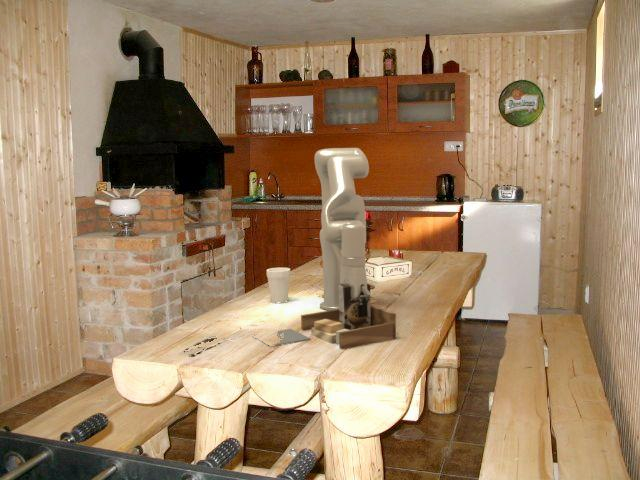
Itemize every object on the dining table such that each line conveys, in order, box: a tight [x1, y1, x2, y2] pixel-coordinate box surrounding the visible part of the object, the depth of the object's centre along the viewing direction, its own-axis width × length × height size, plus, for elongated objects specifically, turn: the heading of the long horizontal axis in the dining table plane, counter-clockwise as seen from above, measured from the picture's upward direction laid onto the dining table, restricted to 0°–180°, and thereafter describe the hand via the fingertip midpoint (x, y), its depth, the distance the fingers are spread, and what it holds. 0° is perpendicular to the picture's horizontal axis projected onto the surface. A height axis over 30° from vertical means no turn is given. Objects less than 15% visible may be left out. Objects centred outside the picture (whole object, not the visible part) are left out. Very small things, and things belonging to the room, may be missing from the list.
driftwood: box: [184, 336, 217, 356], centre depth 203 cm, size 21×7×2 cm, turn 154°
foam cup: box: [266, 267, 291, 303], centre depth 259 cm, size 10×9×13 cm
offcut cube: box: [335, 329, 348, 345], centre depth 201 cm, size 4×4×4 cm
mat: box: [253, 328, 311, 346], centre depth 209 cm, size 14×14×1 cm
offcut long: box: [310, 327, 336, 344], centre depth 208 cm, size 12×6×3 cm, turn 33°
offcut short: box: [314, 319, 343, 334], centre depth 208 cm, size 8×5×2 cm, turn 43°
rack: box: [300, 304, 397, 350], centre depth 211 cm, size 26×20×8 cm
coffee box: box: [339, 283, 371, 330], centre depth 212 cm, size 9×6×16 cm
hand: (354, 313), depth 212 cm, fingers open, 9 cm apart
